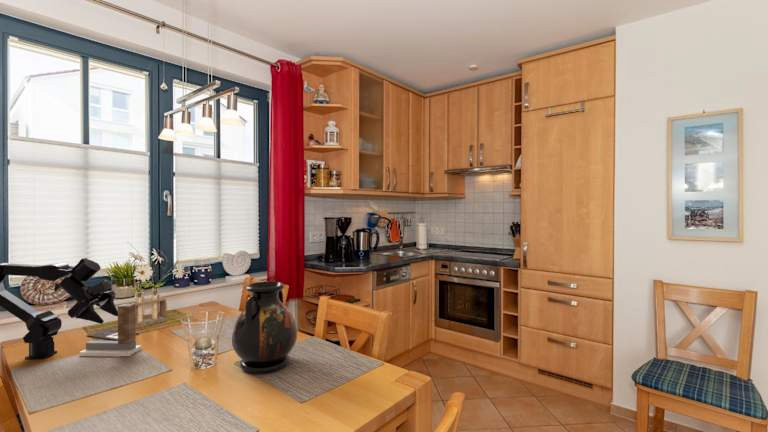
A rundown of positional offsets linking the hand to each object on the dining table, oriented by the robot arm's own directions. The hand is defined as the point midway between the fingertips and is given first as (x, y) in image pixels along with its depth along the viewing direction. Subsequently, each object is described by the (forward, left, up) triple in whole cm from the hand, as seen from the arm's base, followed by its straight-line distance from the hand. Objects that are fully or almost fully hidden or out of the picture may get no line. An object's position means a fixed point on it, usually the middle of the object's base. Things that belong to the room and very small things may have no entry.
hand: (110, 318), depth 138 cm
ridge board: (-1, +1, -13) cm, 13 cm away
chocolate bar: (-14, +19, -14) cm, 27 cm away
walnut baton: (+5, +1, -9) cm, 10 cm away
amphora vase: (+60, -9, -13) cm, 63 cm away
